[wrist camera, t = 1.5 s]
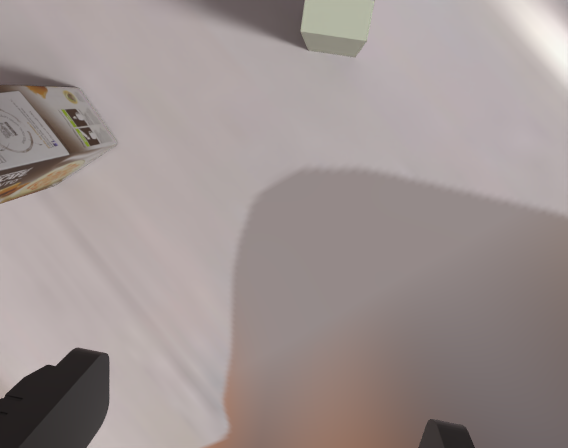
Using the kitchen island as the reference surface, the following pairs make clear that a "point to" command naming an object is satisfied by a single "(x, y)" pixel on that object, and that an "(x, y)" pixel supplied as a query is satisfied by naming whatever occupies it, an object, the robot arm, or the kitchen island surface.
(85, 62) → the kitchen island surface
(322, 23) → the post
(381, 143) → the kitchen island surface
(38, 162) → the coffee box
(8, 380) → the kitchen island surface
